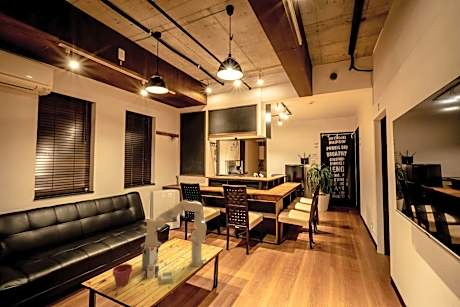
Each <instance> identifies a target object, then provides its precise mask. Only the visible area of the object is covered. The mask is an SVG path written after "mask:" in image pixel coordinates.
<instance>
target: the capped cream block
mask: <svg viewBox="0 0 460 307" xmlns="http://www.w3.org/2000/svg"><path fill="white" fill-rule="evenodd" d="M155 266H156V265H155V263H154V264H149V265H148V268H147V273H146V276H147V277H146V278H149V279H150V278H154V277H155V276H156V272H155Z"/></svg>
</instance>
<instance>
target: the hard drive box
mask: <svg viewBox="0 0 460 307" xmlns="http://www.w3.org/2000/svg"><path fill="white" fill-rule="evenodd" d="M143 246H144V247H145V245H143ZM157 246H159V244H157ZM156 249H157V248H156V247H151V248H146V255H145V253H144V249H141V250H142V252H141V253H142V256H141V257H142V258H141V261H142V262H141V270H144V271H145V267H148V265H149V264H154V263H155V266H157V264H158V263H159V251H158V252H157V254H156Z"/></svg>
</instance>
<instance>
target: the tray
mask: <svg viewBox="0 0 460 307" xmlns="http://www.w3.org/2000/svg"><path fill="white" fill-rule="evenodd" d="M173 282H174V271H163V272H161V275H160V284H168V283H173Z"/></svg>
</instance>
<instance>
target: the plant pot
mask: <svg viewBox="0 0 460 307" xmlns="http://www.w3.org/2000/svg"><path fill="white" fill-rule="evenodd" d="M132 272H133V265H132V264H130V263H124V264H123V263H122V264H119V265H116V266H115V267H113V269H112V276H113V277H114V280H115V286H116V287H118V288H121V287H125V286H127V285H128V284H129V282H130V278H131V273H132Z"/></svg>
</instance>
